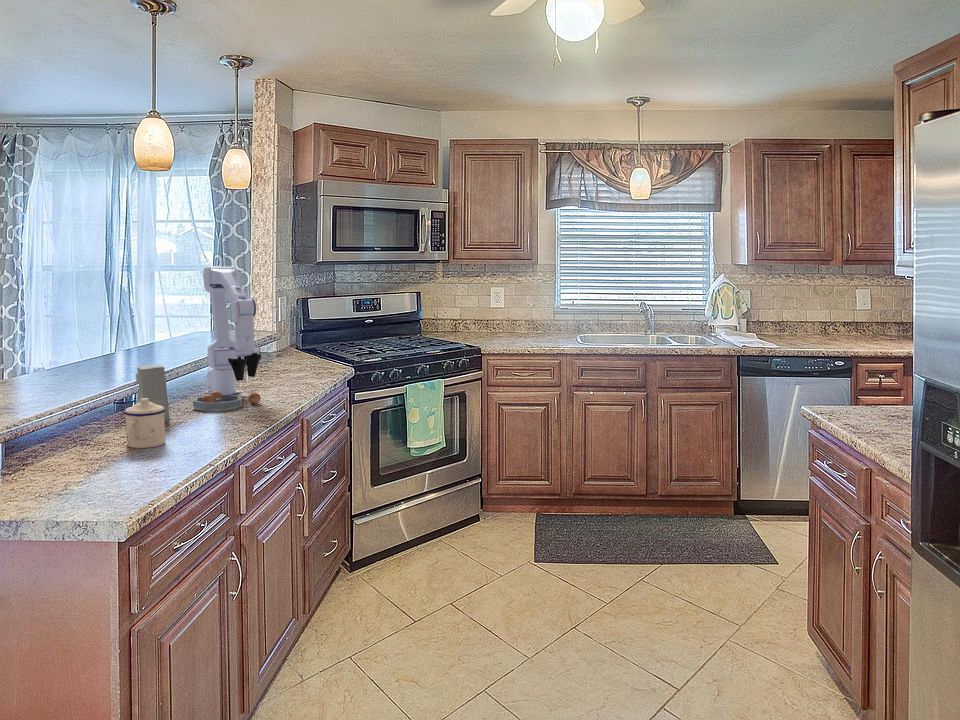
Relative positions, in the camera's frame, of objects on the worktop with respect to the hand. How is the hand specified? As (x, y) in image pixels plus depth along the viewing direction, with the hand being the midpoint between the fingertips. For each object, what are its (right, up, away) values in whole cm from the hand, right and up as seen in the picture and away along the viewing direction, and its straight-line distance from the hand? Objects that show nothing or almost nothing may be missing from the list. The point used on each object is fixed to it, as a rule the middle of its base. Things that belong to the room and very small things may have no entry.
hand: (245, 378), depth 219 cm
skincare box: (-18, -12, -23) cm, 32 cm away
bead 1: (-9, -6, -1) cm, 11 cm away
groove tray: (-8, -9, -4) cm, 12 cm away
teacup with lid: (-8, -16, -50) cm, 53 cm away
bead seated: (-9, -7, -7) cm, 13 cm away
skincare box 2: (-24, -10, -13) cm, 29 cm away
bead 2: (+2, -7, +2) cm, 7 cm away
